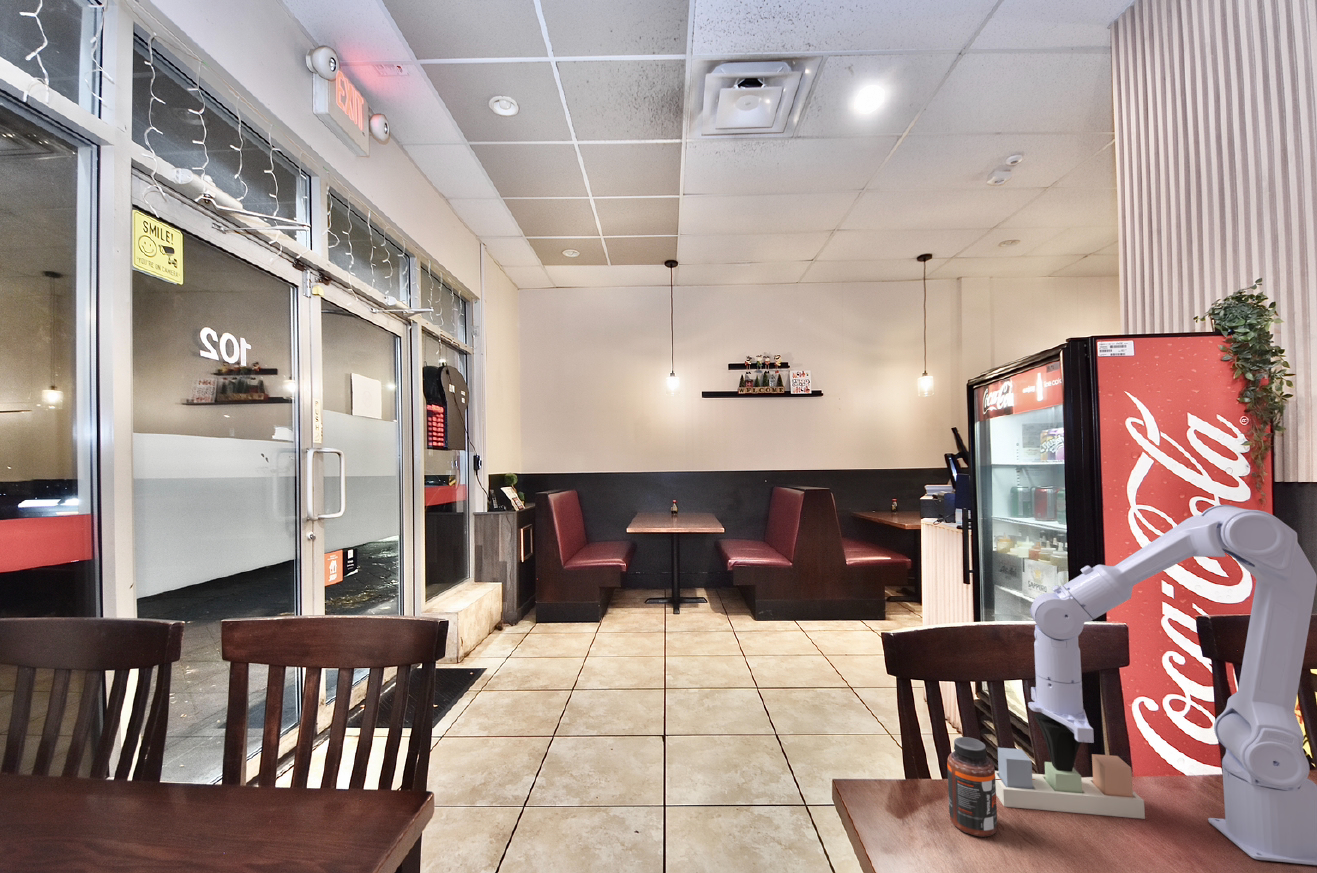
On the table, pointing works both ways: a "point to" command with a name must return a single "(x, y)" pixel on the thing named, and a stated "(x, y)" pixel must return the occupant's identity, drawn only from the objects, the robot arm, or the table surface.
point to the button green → (1063, 779)
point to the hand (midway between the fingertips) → (1062, 768)
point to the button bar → (1069, 799)
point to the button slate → (1015, 768)
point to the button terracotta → (1112, 775)
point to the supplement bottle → (972, 788)
